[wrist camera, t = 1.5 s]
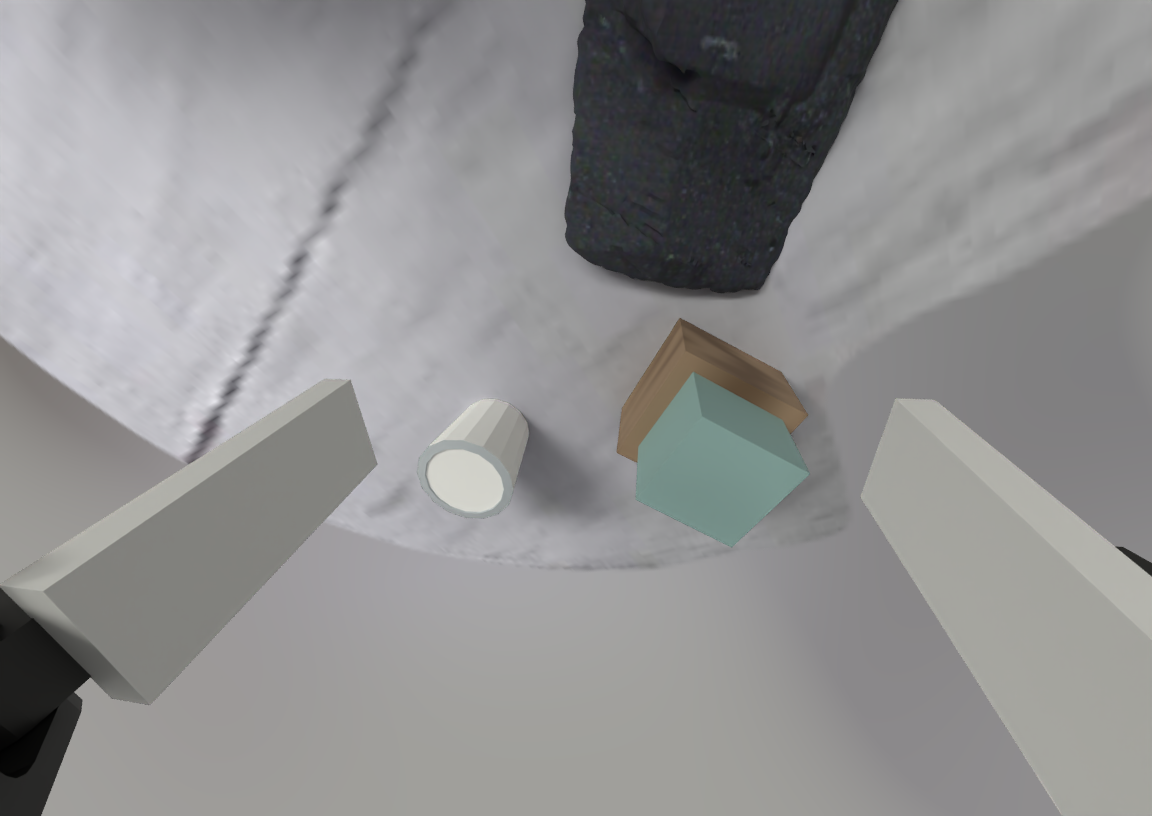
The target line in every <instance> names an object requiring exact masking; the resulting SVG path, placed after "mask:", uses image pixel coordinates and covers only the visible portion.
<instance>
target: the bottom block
mask: <svg viewBox="0 0 1152 816" xmlns="http://www.w3.org/2000/svg"><path fill="white" fill-rule="evenodd" d="M693 372H695V373H697V374H699V375H700V376H702V377H704V378H706V379H708V380H710V381H711V382H713V383H715V384H717V385H719V386H721V387H723V388H724V389H726V390H728V391H730V392H732V393H734V394H735V395H737V396H739V397H741V398H743V399H745V400H747V401H748V402H750V403H752V404H754V405H756V406H758V407H759V408H761V409H763V410H765V411H767V412H769V413H771V414H772V415H774V416H776V417H778V418H780V419H782V420H783V422H784V424H785V426H786V428H787V430H788V432H789V433H790V434H791V433H792V432H793V431H794V430H795V429H796V428H797V427H798V426H799V424H800V423H801V422H802V421H803V420H804V419H805V418H806V417H807V416H808V414H807V412H806V411H805V409H804V408H803V406H802V404H801V403H800V401H799V400H798V398H797V396H796V395H795V393H794V392H793V390H792V388H791V387H790V385H789V384H788V382H787V380H786V379H785V377H784V376H783V374H782V372H780V371H778V370H776V369H775V368H773V367H771V366H769V365H767V364H765V363H763V362H761V361H760V360H758V359H756V358H754V357H752V356H750V355H748V354H746V353H745V352H743V351H741V350H739V349H737V348H735V347H733V346H732V345H730V344H728V343H726V342H724V341H722V340H720V339H718V338H717V337H715V336H713V335H711V334H709V333H707V332H705V331H703V330H702V329H700V328H698V327H696V326H694V325H692V324H690V323H688V322H687V321H685V320H683V319H681V318H679V320H678V321H677V323H676V325H675V326H674V328H673V329H672V331H671V332H670V334H669V336H668V337H667V339H666V340H665V342H664V343H663V345H662V346H661V348H660V350H659V351H658V353H657V354H656V356H655V357H654V359H653V361H652V362H651V364H650V365H649V367H648V368H647V370H646V371H645V373H644V375H643V376H642V378H641V379H640V381H639V382H638V384H637V386H636V387H635V389H634V390H633V392H632V393H631V395H630V396H629V398H628V400H627V401H626V403H625V404H624V406H623V407H622V412H621V421H620V429H619V437H618V445H617V453H618V454H620V455H622V456H624V457H626V458H628V459H630V460H632V461H634V462H637V463H638V446H639V445H640V444H641V442H642V441H643V439H644V438H645V437H646V435H647V434H648V433H649V431H650V430H651V429H652V427H653V426H654V424H655V423H656V422H657V420H658V419H659V418H660V416H661V415H662V414H663V412H664V411H665V409H666V408H667V407H668V405H669V404H670V403H671V401H672V400H673V399H674V397H675V396H676V394H677V393H678V392H679V390H680V389H681V388H682V386H683V385H684V384H685V382H686V381H687V379H688V378H689V377H690V375H691V374H692V373H693Z"/></svg>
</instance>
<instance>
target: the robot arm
mask: <svg viewBox="0 0 1152 816" xmlns="http://www.w3.org/2000/svg"><path fill="white" fill-rule="evenodd" d="M376 465H377V461H376V458H375V455H374V452H373V449H372V446H371V442H370V439H369V436H368V433H367V430H366V427H365V424H364V421H363V417H362V414H361V411H360V408H359V405H358V402H357V399H356V396H355V392H354V389H353V386H352V383H351V380H341V379H324V380H322V381H321V382H319V383H317V384H316V385H314V386H313V387H311V388H310V389H308V390H306V391H305V392H303V393H302V394H300V395H298V396H297V397H295V398H294V399H292V400H291V401H289V402H287V403H286V404H284V405H283V406H281V407H279V408H278V409H276V410H275V411H273V412H272V413H270V414H268V415H267V416H265V417H264V418H262V419H260V420H259V421H257V422H256V423H254V424H253V425H251V426H249V427H248V428H246V429H245V430H243V431H241V432H240V433H238V434H237V435H235V436H234V437H232V438H230V439H229V440H227V441H226V442H224V443H222V444H221V445H219V446H218V447H216V448H214V449H213V450H211V451H210V452H208V453H207V454H205V455H203V456H202V457H200V458H199V459H197V460H195V461H194V462H192V463H191V464H189V465H188V466H186V467H185V468H183V469H181V470H180V471H178V472H177V473H175V474H173V475H172V476H170V477H169V478H167V479H166V480H164V481H163V482H161V483H159V484H157V485H156V486H154V487H153V488H151V489H150V490H148V491H146V492H145V493H143V494H142V495H140V496H139V497H137V498H135V499H134V500H132V501H131V502H129V503H127V504H126V505H125V506H123V507H121V508H119V509H118V510H116V511H115V512H113V513H112V514H110V515H108V516H107V517H105V518H104V519H102V520H100V521H99V522H97V523H96V524H94V525H93V526H91V527H89V528H88V529H86V530H85V531H83V532H82V533H80V534H78V535H77V536H75V537H74V538H72V539H70V540H69V541H67V542H66V543H64V544H62V545H61V546H59V547H58V548H56V549H54V550H53V551H51V552H50V553H48V554H47V555H45V556H43V557H42V558H40V559H39V560H37V561H36V562H34V563H33V564H31V565H29V566H28V567H26V568H25V569H23V570H21V571H20V572H18V573H17V574H15V575H13V576H12V577H10V578H9V579H7V580H5V581H4V582H2V583H1V584H0V816H41V814H42V812H43V809H44V807H45V804H46V801H47V799H48V796H49V794H50V791H51V788H52V786H53V783H54V781H55V778H56V776H57V773H58V770H59V768H60V765H61V763H62V760H63V757H64V754H65V752H66V750H67V747H68V745H69V742H70V739H71V737H72V734H73V731H74V729H75V726H76V724H77V721H78V719H79V716H80V713H81V709H82V699H81V698H80V697H78V695H77V694H75V693H74V691H76V690H77V689H78V688H79V687H80V686H81V685H82V684H83V683H85V682H86V681H87V680H88V679H89V678H90V677H91V678H92V679H93V680H94V681H95V682H96V683H97V684H98V685H99V686H100V687H101V688H102V689H103V690H104V691H105V692H106V693H107V694H108V695H109V696H110V697H111V698H112V699H118V700H123V701H129V702H134V703H140V704H145V705H151V704H152V703H153V702H154V701H155V700H156V699H157V698H158V697H159V695H160V694H161V693H162V692H163V691H164V690H165V689H166V688H167V687H168V686H169V685H170V684H171V683H172V682H173V681H174V679H175V678H176V677H177V676H178V675H179V674H180V673H181V672H182V671H183V670H184V669H185V667H187V666H188V665H189V664H190V663H191V661H192V660H193V659H194V658H195V657H196V656H197V655H198V654H199V653H200V652H201V651H202V650H203V649H204V648H205V647H206V646H207V645H208V644H209V642H210V641H211V640H212V639H213V638H214V637H215V636H216V635H217V634H218V633H219V632H220V631H221V630H222V629H223V628H224V627H225V625H226V624H227V623H228V622H229V621H230V620H231V619H232V618H233V617H234V616H235V615H236V614H237V613H238V612H239V611H240V610H241V609H242V607H243V606H244V605H245V604H246V603H247V602H248V601H249V600H250V599H251V598H252V597H253V596H254V595H255V594H256V592H258V591H259V589H260V588H261V587H262V586H263V585H264V584H265V583H266V582H267V581H268V580H269V579H270V578H271V577H272V576H273V575H274V573H275V572H276V571H277V570H278V569H279V568H280V567H281V566H282V565H283V564H284V563H285V562H286V561H287V560H288V559H289V558H290V557H291V555H292V554H293V553H294V552H295V551H296V550H297V549H298V548H299V547H300V546H301V545H302V544H303V543H304V541H306V539H308V537H309V536H310V535H311V534H312V533H313V532H314V531H315V530H316V529H317V528H318V527H319V526H320V525H321V524H322V523H323V522H324V521H325V519H326V518H327V517H328V516H329V515H330V514H331V513H332V512H333V511H334V510H335V509H336V508H337V507H338V506H339V505H340V504H341V503H342V501H343V500H344V499H345V498H346V497H347V496H348V495H349V494H350V493H351V492H352V491H353V490H354V489H355V488H356V487H357V486H358V484H359V483H360V482H361V481H362V480H363V479H364V478H365V477H366V476H367V475H368V474H369V473H370V472H371V471H372V470H373V469H374V468H375V466H376ZM861 499H862V500H863V502H864V504H865V505H866V507H867V508H868V510H869V511H870V513H871V515H872V516H873V518H874V519H875V521H876V522H877V524H878V526H879V527H880V528H881V530H882V532H883V534H884V535H885V537H886V538H887V540H888V541H889V543H890V545H891V546H892V548H893V549H894V551H895V553H896V554H897V556H898V557H899V559H900V561H901V562H902V564H903V565H904V567H905V568H906V570H907V572H908V573H909V575H910V576H911V578H912V579H913V581H914V583H915V584H916V586H917V587H918V589H919V590H920V592H921V593H922V595H923V597H924V598H925V600H926V602H927V603H928V605H929V606H930V608H931V609H932V611H933V613H934V614H935V616H936V617H937V619H938V621H939V622H940V624H941V625H942V627H943V628H944V630H945V632H946V633H947V635H948V636H949V638H950V640H951V641H952V643H953V644H954V646H955V648H956V649H957V651H958V652H959V654H960V655H961V657H962V658H963V660H964V662H965V663H966V665H967V666H968V668H969V670H970V671H971V673H972V674H973V676H974V678H975V679H976V681H977V682H978V684H979V685H980V687H981V689H982V690H983V692H984V693H985V695H986V697H987V698H988V700H989V701H990V703H991V704H992V706H993V708H994V709H995V711H996V712H997V714H998V715H999V717H1000V719H1001V720H1002V722H1003V723H1004V725H1005V726H1006V728H1007V730H1008V731H1009V733H1010V734H1011V736H1012V738H1013V739H1014V741H1015V742H1016V744H1017V746H1018V747H1019V749H1020V750H1021V752H1022V753H1023V755H1024V757H1025V758H1026V760H1027V761H1028V763H1029V764H1030V766H1031V768H1032V769H1033V771H1034V772H1035V774H1036V776H1037V777H1038V779H1039V780H1040V782H1041V783H1042V785H1043V787H1044V788H1045V790H1046V791H1047V793H1048V795H1049V796H1050V798H1051V799H1052V801H1053V802H1054V804H1055V805H1056V807H1057V809H1058V810H1059V812H1060V814H1061V815H1062V816H1152V563H1151V562H1149V561H1147V560H1145V559H1143V558H1141V557H1140V556H1138V555H1136V554H1135V553H1133V552H1131V551H1129V550H1127V549H1126V548H1124V547H1115V546H1113V545H1112V544H1111V543H1110V542H1109V541H1107V540H1106V539H1105V538H1104V537H1102V536H1101V535H1100V534H1099V533H1097V532H1096V531H1095V530H1094V529H1093V528H1091V527H1090V526H1089V525H1088V524H1086V523H1085V522H1084V521H1083V520H1082V519H1080V518H1079V517H1078V516H1076V515H1075V514H1074V513H1073V512H1072V511H1071V510H1069V509H1068V508H1067V507H1066V506H1064V505H1063V504H1062V503H1061V502H1059V501H1058V500H1057V499H1056V498H1054V497H1053V496H1052V495H1051V494H1050V493H1048V492H1047V491H1046V490H1044V488H1042V487H1041V486H1040V485H1039V484H1037V483H1036V482H1035V481H1033V480H1032V479H1031V478H1030V477H1029V476H1028V475H1026V474H1025V473H1024V472H1023V471H1021V470H1020V469H1019V468H1018V467H1016V466H1015V465H1014V464H1013V463H1012V462H1010V461H1009V460H1008V459H1007V458H1005V457H1004V456H1003V455H1002V454H1001V453H999V452H998V451H997V450H996V449H995V448H993V447H992V446H991V445H990V444H988V443H987V442H986V441H985V440H983V439H982V438H981V437H980V436H979V435H977V434H976V433H975V432H974V431H972V430H971V429H970V428H969V427H967V426H966V425H965V424H964V423H963V422H961V421H960V420H959V419H958V418H956V417H955V416H954V415H953V414H952V413H950V412H949V411H948V410H947V409H945V408H944V407H943V406H942V405H941V404H939V403H938V402H937V401H936V400H925V399H924V400H923V399H895V401H894V404H893V407H892V410H891V412H890V415H889V418H888V421H887V424H886V426H885V429H884V432H883V435H882V438H881V441H880V443H879V446H878V449H877V452H876V455H875V457H874V460H873V463H872V466H871V469H870V471H869V474H868V477H867V480H866V483H865V486H864V488H863V491H862V494H861Z"/></svg>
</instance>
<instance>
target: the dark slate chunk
mask: <svg viewBox="0 0 1152 816" xmlns="http://www.w3.org/2000/svg"><path fill="white" fill-rule="evenodd" d="M585 1H586V6H585V10H584V15H583V22H584V28H583V30H582V31H581V33H580V34H579V37H578V41H577V45H578V59H577V64H576V69H575V77H574V88H573V100H574V113H575V114H576V118H575V124H574V127H573V130H572V133H573V144H572V145H573V151H572V154H571V183H570V187H569V192H568V196H567V200H566V206H565V220H566V223H567V228H566V233H565V238H566V241H567V243H568V245H569V246H570V247H571V248H572V249H573V250H574V251H575V252H577V253H578V254H579V255H581V256H582V257H583V258H584V259H586V260H587V261H589V262H591V263H593V264H595V265H598V266H602V267H604V268H605V269H608V270H611V271H616V272H619V273H623V274H625V275H627V276H629V277H631V278H633V279H634V278H636V279H640V280H648V281H655V282H659V283H663V284H665V285H667V286H672V287H676V288H689V289H701V288H710V290H711V291H714V292H718V293H725V292H737V291H740V290H743V289H755V290H758V289H760V288H761V286H762V285H763V284H764V282H765V279H766V278H767V276H768V275H769V273H770V270H771V267H772V265H773V264H774V263H775V262H776V261H777V259H778V257H779V255H780V253H781V251H782V248H783V246H784V242H785V238H786V236H787V234H788V228H789V226H790V224H791V222H792V221H793V219H794V218H795V217H796V216H797V215H798V213H799V212H800V210H801V205H802V203H803V201H804V200H805V199H806V197H807V196H808V194H809V192H810V190H811V187H812V182H813V179H814V178H815V176H816V175H817V173H818V171H819V170H820V168H821V166H822V164H823V162H824V160H825V158H826V156H827V153H828V151H829V149H830V147H831V146H832V144H833V142H834V140H835V139H836V137H837V135H838V132H839V128H840V126H841V124H842V122H843V120H844V119H845V117H846V115H847V113H848V110H849V107H850V105H851V102H852V100H853V97H854V94H855V89H856V87H857V86H858V84H859V83H860V82H861V81H862V79H863V77H864V76H865V72H866V69H867V66H868V64H869V61H870V59H871V58H872V56H873V54H874V52H875V50H876V48H877V47H878V45H879V42H880V40H881V37H882V34H883V32H884V29H885V27H886V25H887V22H888V20H889V17H890V15H891V13H892V11H893V9H894V7H895V5H896V3H897V1H898V0H585Z"/></svg>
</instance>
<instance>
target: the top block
mask: <svg viewBox="0 0 1152 816" xmlns="http://www.w3.org/2000/svg"><path fill="white" fill-rule="evenodd" d="M809 474H810V473H809V471H808V469H807V467H806V465H805V463H804V461H803V459H802V457H801V455H800V453H799V451H798V449H797V447H796V445H795V443H794V441H793V439H792V437H791V435H790V433H789V432H788V430H787V428H786V426H785V424H784V422H783V420H782V419H780V418H778V417H776V416H774V415H772V414H771V413H769V412H767V411H765V410H763V409H761V408H759V407H758V406H756V405H754V404H752V403H750V402H748V401H747V400H745V399H743V398H741V397H739V396H737V395H735V394H734V393H732V392H730V391H728V390H726V389H724V388H723V387H721V386H719V385H717V384H715V383H713V382H711V381H710V380H708V379H706V378H704V377H702V376H700V375H699V374H697V373H695V372H693V373H692V374H691V375H690V377H689V378H688V379H687V381H686V382H685V384H684V385H683V386H682V388H681V389H680V390H679V392H678V393H677V394H676V396H675V397H674V399H673V400H672V401H671V403H670V404H669V405H668V407H667V408H666V409H665V411H664V412H663V414H662V415H661V416H660V418H659V419H658V420H657V422H656V423H655V424H654V426H653V427H652V429H651V430H650V431H649V433H648V434H647V435H646V437H645V438H644V439H643V441H642V442H641V444H640V445H639V446H638V463H637V483H636V500H637V501H639V502H641V503H643V504H645V505H647V506H649V507H651V508H653V509H655V510H657V511H659V512H661V513H663V514H665V515H667V516H669V517H671V518H673V519H675V520H677V521H679V522H681V523H683V524H685V525H687V526H690V527H692V528H694V529H696V530H698V531H700V532H702V533H704V534H706V535H708V536H710V537H712V538H714V539H716V540H718V541H720V542H722V543H724V544H726V545H728V546H730V547H733V546H734V545H735V544H736V543H737V542H738V541H739V540H740V539H741V538H742V537H743V536H744V535H745V534H746V533H748V532H749V531H750V530H751V529H752V528H753V527H754V526H755V525H756V524H757V523H758V522H759V521H760V520H761V519H762V518H764V517H765V516H766V515H767V514H768V513H769V512H770V511H771V510H772V509H773V508H774V507H775V506H776V505H777V504H778V503H780V502H781V501H782V500H783V499H784V498H785V497H786V496H787V495H788V494H789V493H790V492H791V491H792V490H793V489H794V488H796V487H797V486H798V485H799V484H800V483H801V482H802V481H803V480H804V479H805V478H806V477H807V476H808V475H809Z"/></svg>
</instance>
